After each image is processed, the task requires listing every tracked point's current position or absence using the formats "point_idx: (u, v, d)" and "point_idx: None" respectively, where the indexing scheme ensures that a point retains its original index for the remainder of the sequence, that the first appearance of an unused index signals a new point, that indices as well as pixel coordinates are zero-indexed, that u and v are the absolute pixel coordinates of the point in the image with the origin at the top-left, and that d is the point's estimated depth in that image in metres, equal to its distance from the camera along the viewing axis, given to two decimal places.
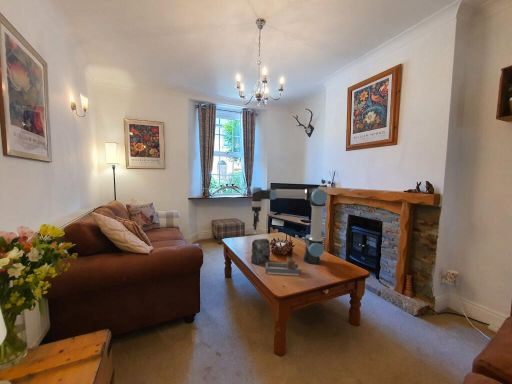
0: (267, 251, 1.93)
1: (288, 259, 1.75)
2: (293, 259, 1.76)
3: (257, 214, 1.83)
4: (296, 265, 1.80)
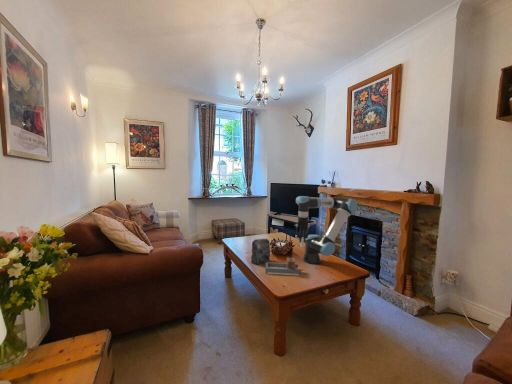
0: (267, 251, 1.93)
1: (288, 259, 1.75)
2: (293, 259, 1.76)
3: (300, 225, 1.71)
4: (296, 265, 1.80)
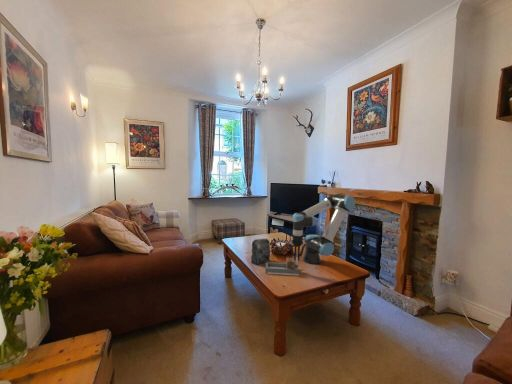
0: (267, 251, 1.93)
1: (288, 259, 1.75)
2: (293, 259, 1.76)
3: None
4: (296, 265, 1.80)
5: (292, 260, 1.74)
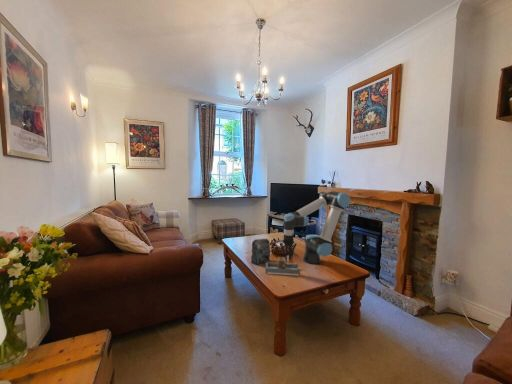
0: (267, 251, 1.93)
1: (279, 259, 1.76)
2: (284, 259, 1.76)
3: None
4: (296, 265, 1.80)
5: (283, 260, 1.74)
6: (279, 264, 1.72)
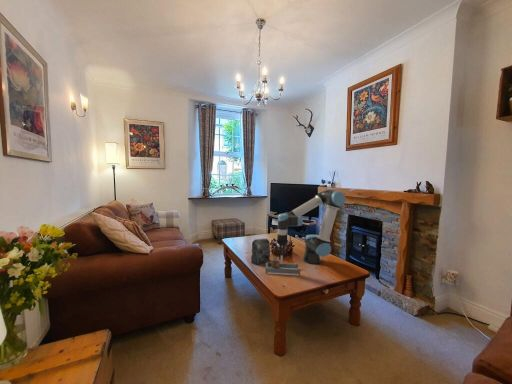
0: (267, 251, 1.93)
1: (273, 258, 1.76)
2: (278, 258, 1.77)
3: (279, 243, 1.73)
4: (296, 265, 1.80)
5: (277, 259, 1.75)
6: (273, 264, 1.73)
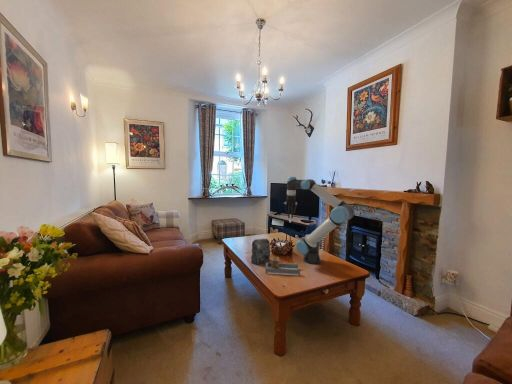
0: (267, 251, 1.93)
1: (272, 258, 1.76)
2: (277, 258, 1.77)
3: (288, 203, 1.92)
4: (296, 265, 1.80)
5: (277, 259, 1.75)
6: (272, 264, 1.73)
